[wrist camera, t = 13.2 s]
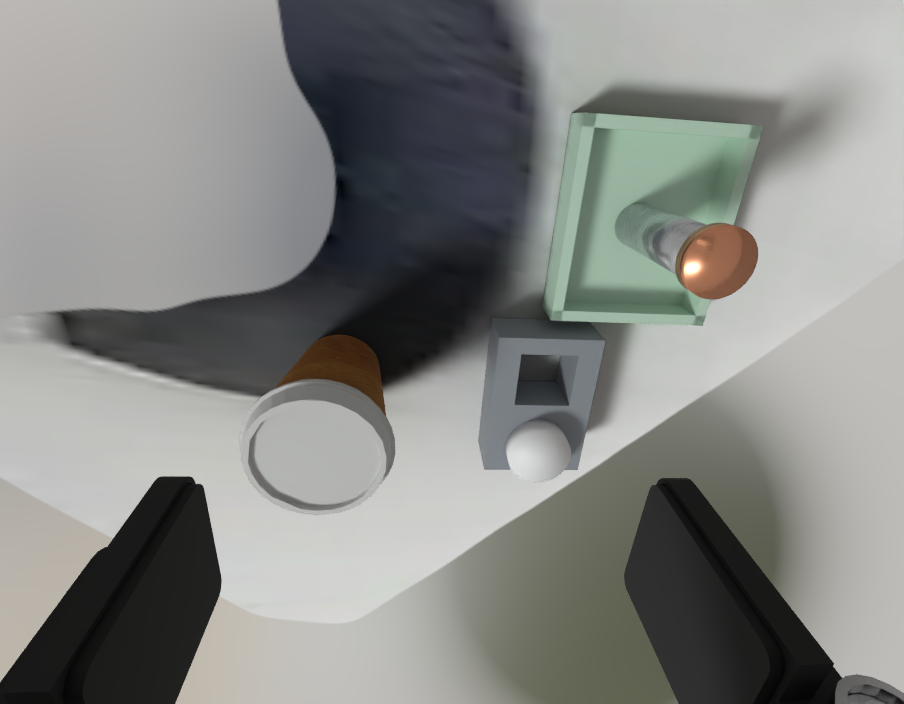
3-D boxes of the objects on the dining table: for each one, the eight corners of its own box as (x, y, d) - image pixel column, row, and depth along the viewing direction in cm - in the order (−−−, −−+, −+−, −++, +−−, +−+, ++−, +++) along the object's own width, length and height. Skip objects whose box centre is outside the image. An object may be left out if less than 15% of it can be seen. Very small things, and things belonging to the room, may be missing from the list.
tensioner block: (491, 317, 39) (503, 346, 34) (588, 320, 40) (613, 349, 35) (478, 440, 44) (486, 482, 39) (564, 441, 45) (583, 482, 40)
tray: (571, 113, 33) (584, 112, 30) (737, 125, 34) (763, 125, 31) (541, 307, 39) (550, 320, 36) (684, 312, 40) (702, 325, 37)
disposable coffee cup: (409, 327, 39) (408, 407, 28) (388, 425, 43) (379, 529, 32) (287, 304, 37) (236, 379, 26) (277, 408, 41) (228, 510, 30)
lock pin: (615, 195, 35) (696, 224, 25) (668, 198, 35) (768, 228, 25) (604, 250, 37) (675, 298, 27) (655, 252, 37) (744, 300, 27)
